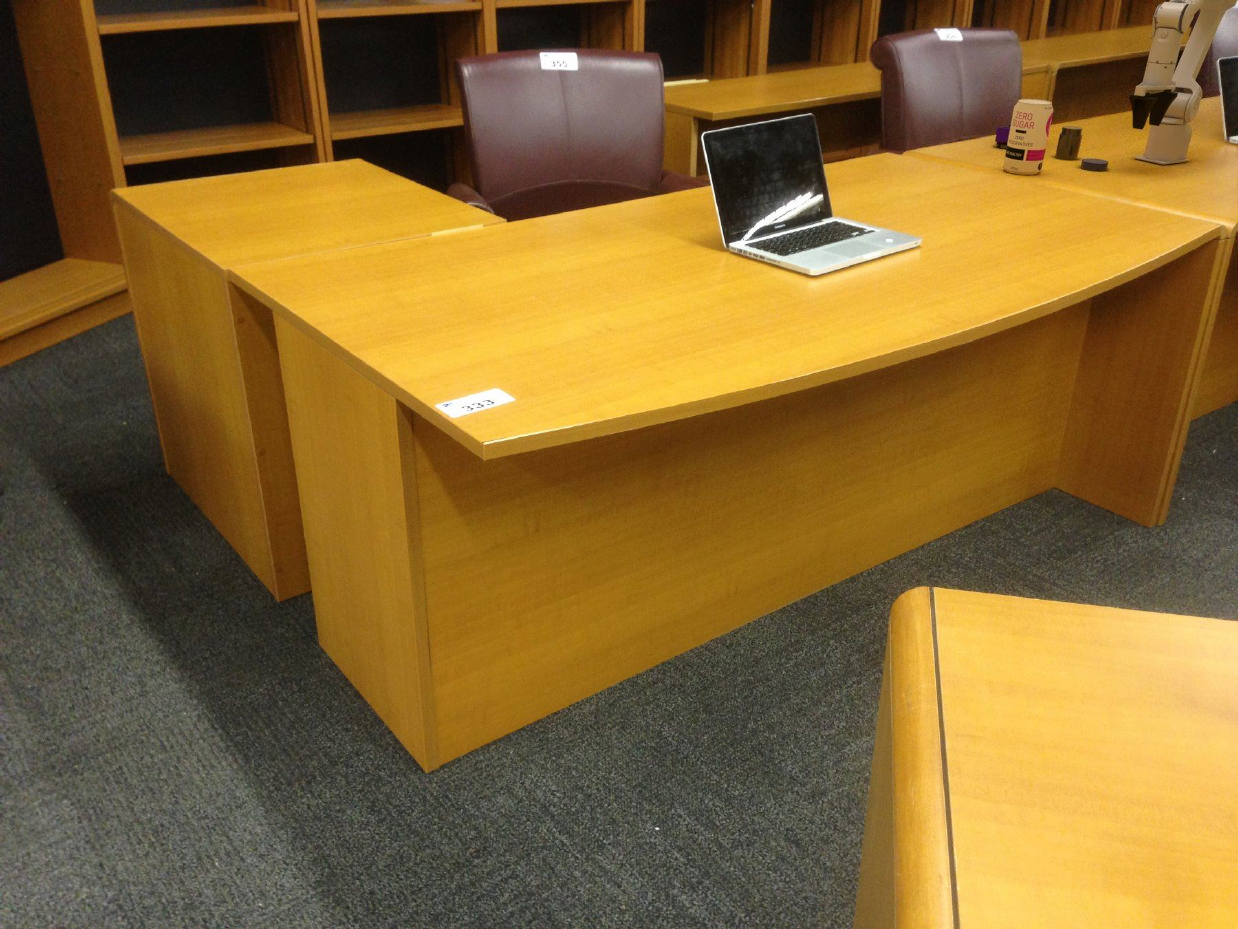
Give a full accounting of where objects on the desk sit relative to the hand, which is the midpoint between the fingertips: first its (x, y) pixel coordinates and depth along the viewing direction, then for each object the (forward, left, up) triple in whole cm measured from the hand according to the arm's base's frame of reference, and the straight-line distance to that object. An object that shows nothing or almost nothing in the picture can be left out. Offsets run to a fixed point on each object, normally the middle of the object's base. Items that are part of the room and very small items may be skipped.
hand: (1146, 126), depth 235 cm
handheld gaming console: (+2, -32, -10) cm, 34 cm away
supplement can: (+26, -10, -10) cm, 30 cm away
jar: (+4, -16, -9) cm, 19 cm away
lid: (+8, -5, -8) cm, 12 cm away
